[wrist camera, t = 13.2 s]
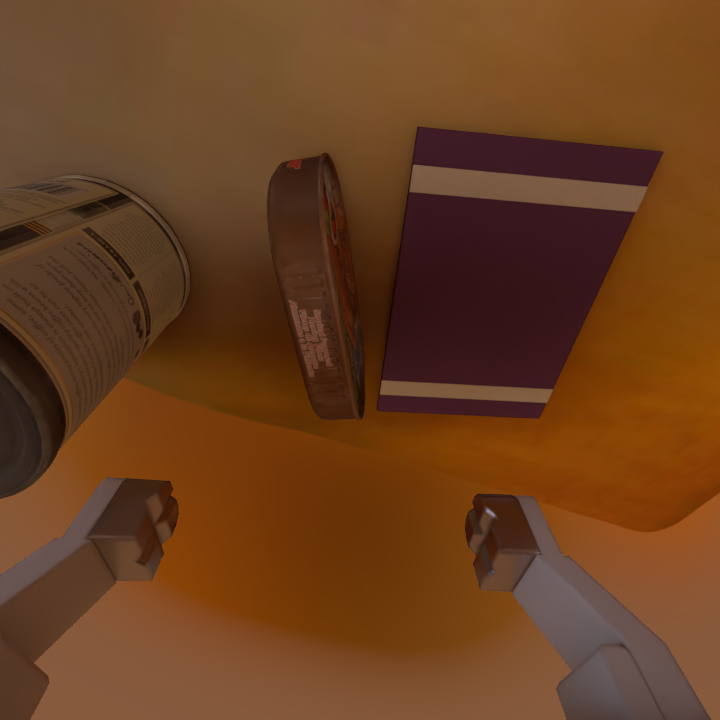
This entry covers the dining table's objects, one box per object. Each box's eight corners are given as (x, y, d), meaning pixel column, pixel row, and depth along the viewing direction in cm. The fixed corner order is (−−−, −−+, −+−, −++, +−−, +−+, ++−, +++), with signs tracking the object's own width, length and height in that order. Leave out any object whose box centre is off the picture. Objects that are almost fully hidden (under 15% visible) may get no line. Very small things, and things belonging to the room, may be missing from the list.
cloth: (659, 151, 21) (664, 152, 20) (537, 415, 32) (539, 419, 31) (417, 126, 20) (418, 126, 19) (376, 408, 31) (377, 411, 30)
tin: (366, 368, 28) (372, 449, 21) (326, 372, 29) (319, 455, 22) (336, 146, 20) (329, 159, 13) (280, 154, 20) (244, 171, 13)
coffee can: (105, 352, 27) (-84, 531, 15) (-23, 218, 22) (-463, 331, 10) (224, 302, 25) (113, 462, 13) (115, 141, 20) (-227, 169, 8)
